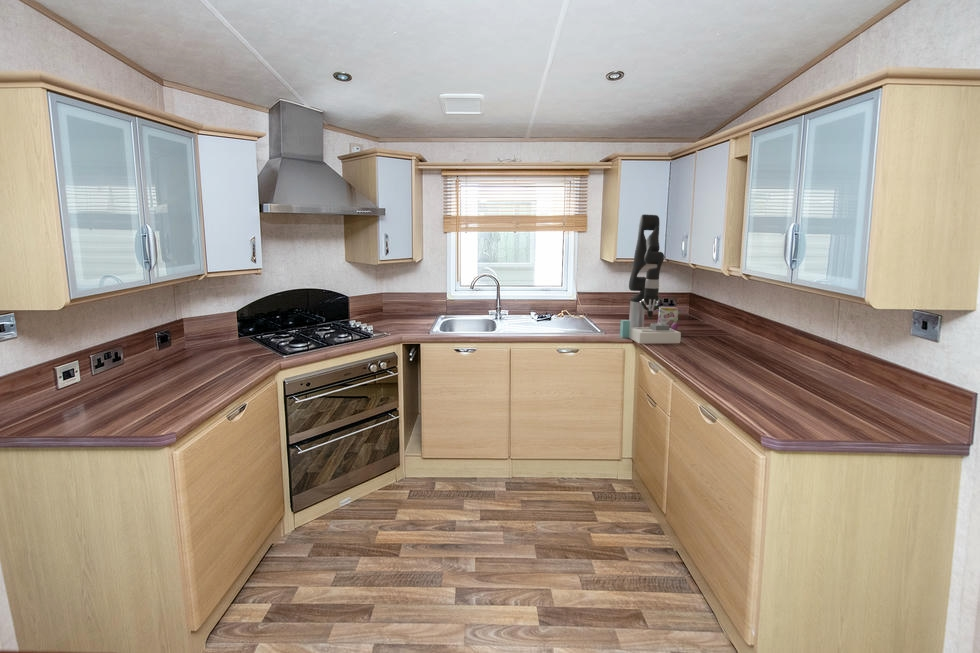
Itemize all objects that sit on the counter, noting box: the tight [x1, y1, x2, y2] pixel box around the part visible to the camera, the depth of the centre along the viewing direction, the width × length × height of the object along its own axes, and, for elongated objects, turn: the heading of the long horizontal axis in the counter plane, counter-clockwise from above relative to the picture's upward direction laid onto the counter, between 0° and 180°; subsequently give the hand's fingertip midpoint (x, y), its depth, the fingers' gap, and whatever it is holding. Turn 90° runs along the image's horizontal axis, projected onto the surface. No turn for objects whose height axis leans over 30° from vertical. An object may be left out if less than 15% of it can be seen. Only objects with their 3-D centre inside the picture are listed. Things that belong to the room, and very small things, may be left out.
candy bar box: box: [657, 306, 680, 331], centre depth 320 cm, size 11×5×16 cm, turn 84°
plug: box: [619, 319, 630, 339], centre depth 307 cm, size 4×4×10 cm
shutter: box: [649, 321, 670, 330], centre depth 299 cm, size 8×8×4 cm
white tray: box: [628, 326, 682, 345], centre depth 299 cm, size 16×24×7 cm, turn 96°
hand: (649, 317), depth 297 cm, fingers closed
